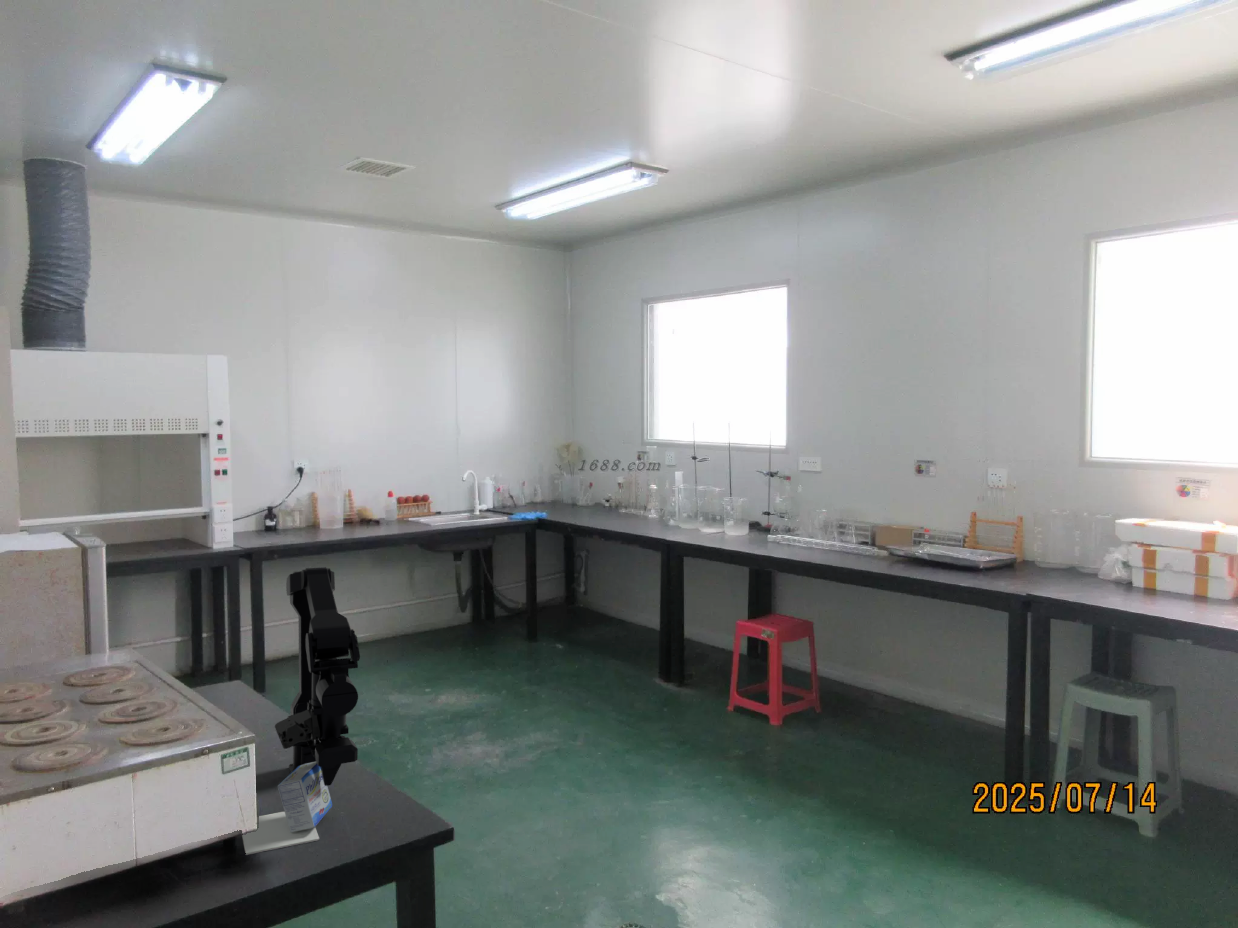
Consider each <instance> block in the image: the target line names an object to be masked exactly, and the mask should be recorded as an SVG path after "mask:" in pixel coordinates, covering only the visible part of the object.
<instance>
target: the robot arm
mask: <svg viewBox="0 0 1238 928" xmlns="http://www.w3.org/2000/svg"><path fill="white" fill-rule="evenodd" d="M335 582H336V579H335V572H334V571H332V570H331V568H327V567H326V566H323V567H320V566H319V567H305V569H301V570H299V571H293V572H292V573H290V574H289V575H287V577H286V586H285V587H286V590H285V591H286V596H289V604H290V605H291V608H293V610H294V612H295V613H296V615H297V616H298V692H297V693H296V695H295V697H294V699H293V700H292V703H291V704H290V713H289V715H287V717H286V718H284V719H282V720H280V721H278V722H276V723H275V725H274V728H275V731H276V734H277V736H278V739H279V741H280V743H281V746H282V748H283V749H284V750H285V749H290V748H292V751H293V752H292V763H290V764H289V765H288V769H289V772H290V774H291V773H292V772H293V771H294V770H295V769H296V768H297V767H298V766H300V765H303V764H306V763H311V762H317V764H318V766H320V768H321V773H322V777H323V782H324V785H325V786H327V787H328V786H331V785H332V784H333V782H334V779H335V778H336V776H337V773H338V772H339V770H340V767H341V766H342V764H349V763H354V762H356V761H357V760H358V754H359V753H358V752H359V751H358V747H357V745H356V744H355V742H354V741H353V740H352V739H351V738H350V737H346V736H345V735H348V734H349V729H350V728H349V726H348V725H347V724H348V723H347V714H350V713H351V712H352V711H353V710H354V708H355V707H356V706H357V703H358V702H359V701H358V699H359V694H358V693H359V692H358V690H357V688H356V686H355V684H354V683H353V681H352V680H351V678H350V676H349V670H351V669H358V667H359V664H358V661H360V659H361V655H360V649H359V642H358V641H359V640H358V635H357V634H356V633H355V630H354V629H353V628H351V626H350V623H349V620H348V618H347V617H346V616H344V615H342V614H340V613H339V612H338V608H337V605H336V604H337V603H336V599H335V595H334V592H335V590H336V583H335ZM348 656H350V657H348Z"/></svg>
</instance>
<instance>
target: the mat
mask: <svg viewBox="0 0 1238 928" xmlns="http://www.w3.org/2000/svg"><path fill="white" fill-rule="evenodd" d="M258 816H259V828H258V830H257V831H256V832H251V833H247V834H246V835H242V834H241V837H242V843H243V848H244V852H245V853H246V854H245V856H248V855H253V854H258V853H262V852H266V851H267V852H268V851H271V850H278V849H283V848H287V847H293V846H297V845H303V844H306V843H307V844H308V843H312V842H317V841H320V836H319V834H318V831H317V828H316V827H315V828H310V829H306V830H302V831H297V832H290V830H289V826H288V822H287V819H286V815H285V812H284V811H279V812H274V813H270V814H269V813H268V814H264V815H258Z"/></svg>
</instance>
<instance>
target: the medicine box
mask: <svg viewBox="0 0 1238 928" xmlns="http://www.w3.org/2000/svg"><path fill="white" fill-rule="evenodd" d="M277 790H278V793H279V797H280V801H281V803H282V808H283V812H285V815H286V819H287V822H288V826H289V830H290V832H297V831H302V830H306V829H310V828H316V827H317V825H318V824H319V823H320V822H321V820H322V819H323V818H324V817H325V815H326V814H327V813H328V812H329V811H330V810H331V809H332V807H333V802H332V798H331V794H330V790H329V787H328V786H325V785H324V782H323V777H322V773H321V768H320V766H318V764H317V762H311V763H306V764H303V765H300V766H298V767H297V768H296V769H295V770H294V771H293V772H292V773H291V772H290V773H289V774H288V775H287V776H286V777H285V778H284V779H283V780H282V781H281V782H280V783H279V784H278V785H277Z"/></svg>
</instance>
